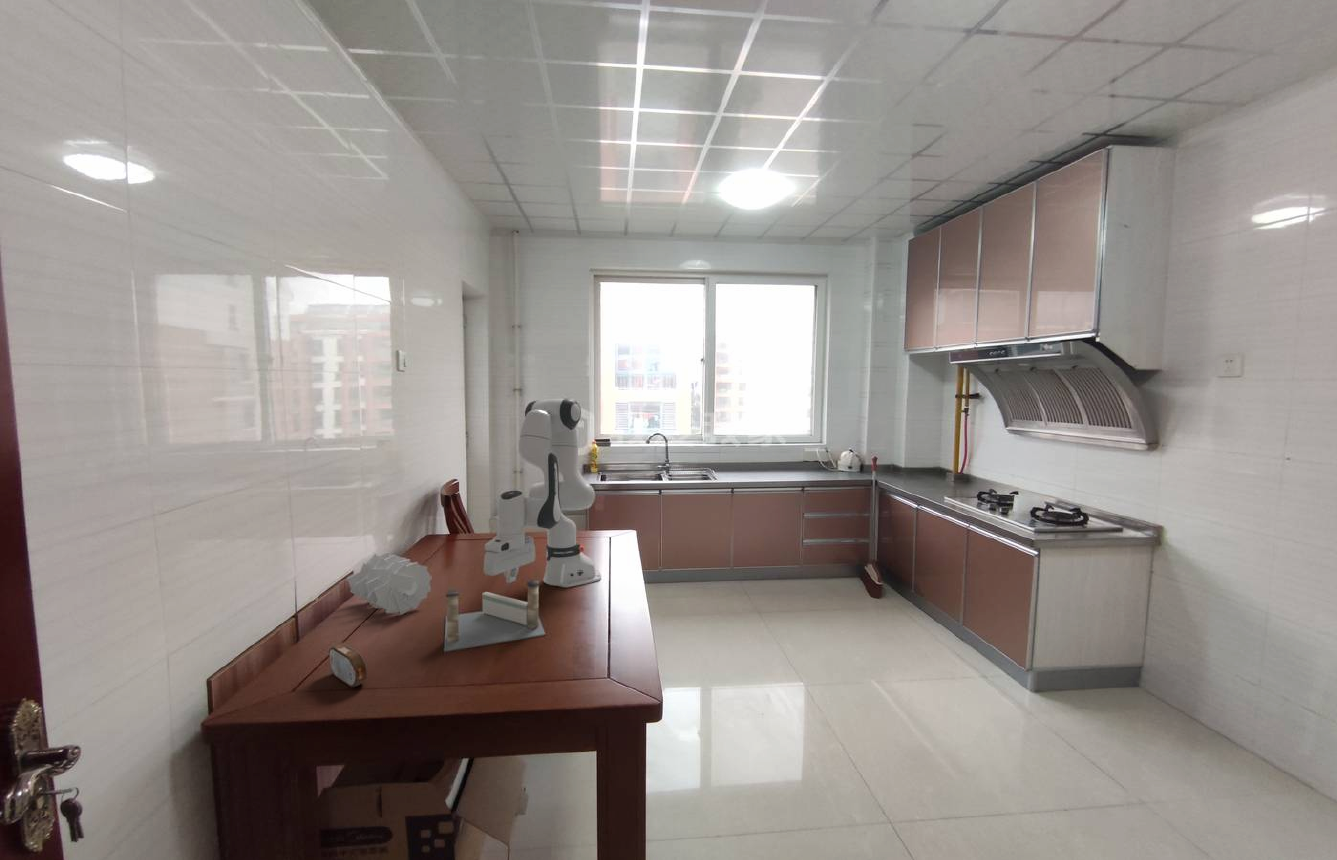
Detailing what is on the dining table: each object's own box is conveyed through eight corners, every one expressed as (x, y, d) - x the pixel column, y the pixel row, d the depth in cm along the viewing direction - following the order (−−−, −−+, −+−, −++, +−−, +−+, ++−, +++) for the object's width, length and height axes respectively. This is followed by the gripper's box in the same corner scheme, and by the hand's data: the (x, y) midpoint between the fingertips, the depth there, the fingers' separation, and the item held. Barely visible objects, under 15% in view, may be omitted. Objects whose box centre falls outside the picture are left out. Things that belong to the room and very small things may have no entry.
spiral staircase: (385, 606, 184) (425, 620, 170) (336, 599, 170) (375, 613, 157) (405, 555, 190) (445, 564, 176) (359, 545, 177) (398, 554, 163)
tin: (368, 687, 126) (367, 654, 125) (354, 693, 123) (354, 659, 122) (340, 669, 134) (339, 637, 134) (326, 674, 131) (326, 642, 131)
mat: (534, 605, 176) (534, 604, 176) (545, 635, 154) (545, 633, 154) (445, 617, 166) (445, 616, 166) (444, 651, 144) (444, 650, 143)
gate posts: (538, 625, 161) (538, 579, 160) (539, 630, 158) (539, 583, 157) (446, 639, 151) (446, 590, 150) (446, 644, 148) (445, 594, 147)
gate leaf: (530, 623, 160) (530, 602, 160) (526, 625, 159) (526, 604, 158) (486, 610, 169) (486, 591, 169) (482, 612, 168) (482, 593, 167)
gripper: (526, 533, 180) (525, 572, 181) (480, 546, 162) (480, 589, 163) (539, 535, 177) (539, 574, 178) (494, 548, 159) (494, 592, 160)
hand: (510, 581), depth 170 cm, fingers closed
